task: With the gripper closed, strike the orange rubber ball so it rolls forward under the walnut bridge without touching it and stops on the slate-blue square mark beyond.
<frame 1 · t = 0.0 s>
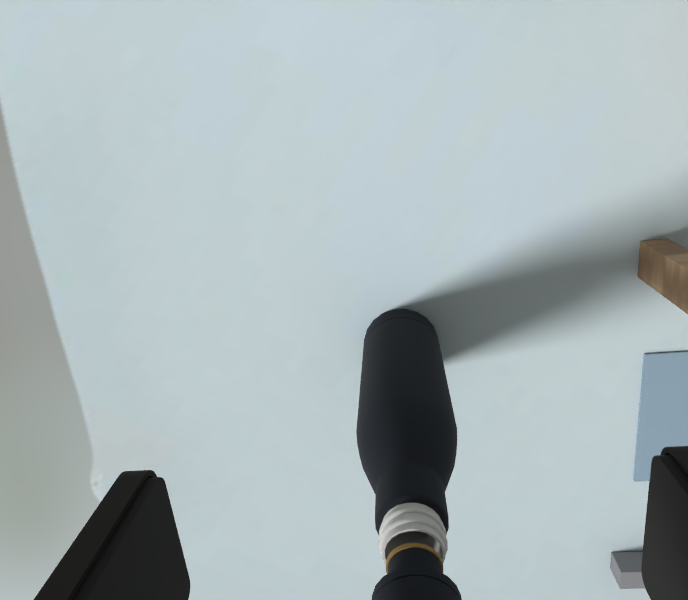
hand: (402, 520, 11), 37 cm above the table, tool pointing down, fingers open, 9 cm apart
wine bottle: (400, 341, 50), on the table
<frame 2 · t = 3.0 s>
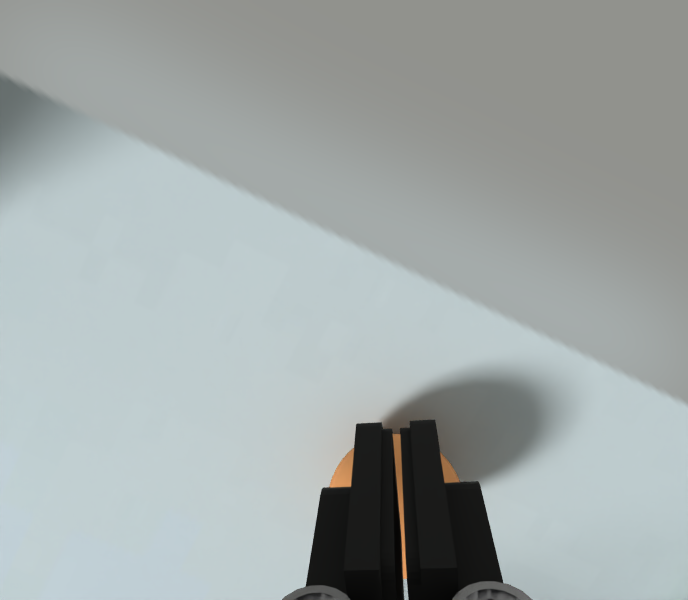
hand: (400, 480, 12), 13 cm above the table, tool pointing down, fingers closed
ball: (395, 503, 25), on the table
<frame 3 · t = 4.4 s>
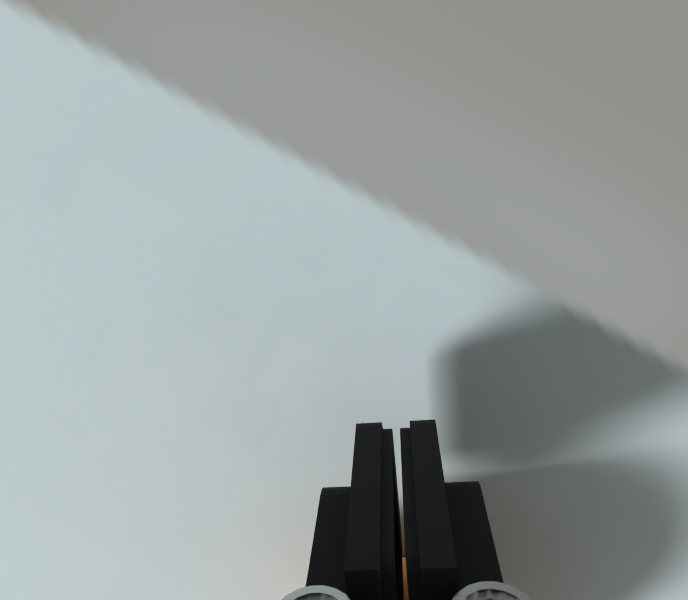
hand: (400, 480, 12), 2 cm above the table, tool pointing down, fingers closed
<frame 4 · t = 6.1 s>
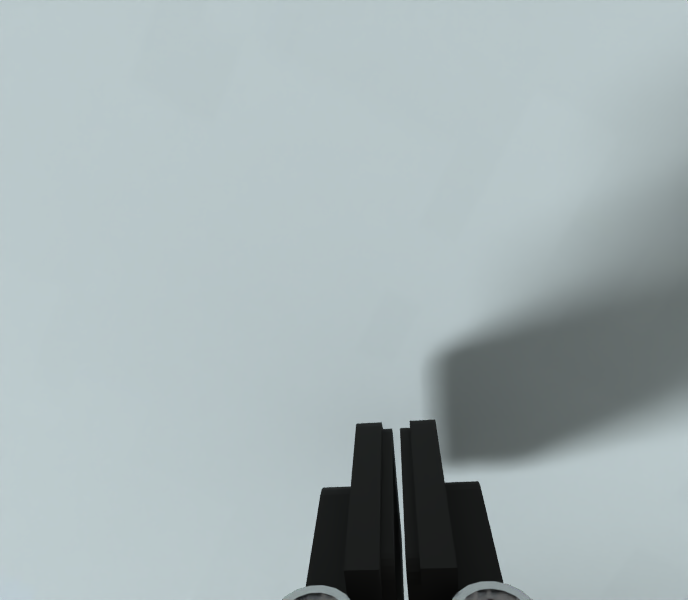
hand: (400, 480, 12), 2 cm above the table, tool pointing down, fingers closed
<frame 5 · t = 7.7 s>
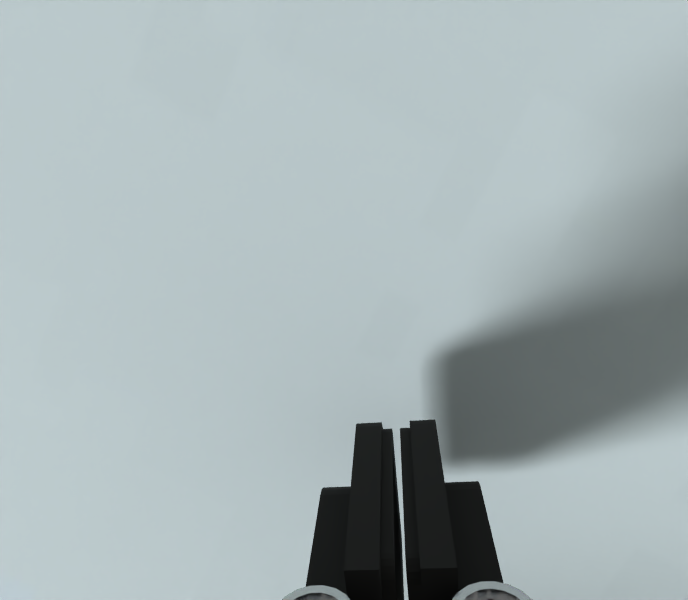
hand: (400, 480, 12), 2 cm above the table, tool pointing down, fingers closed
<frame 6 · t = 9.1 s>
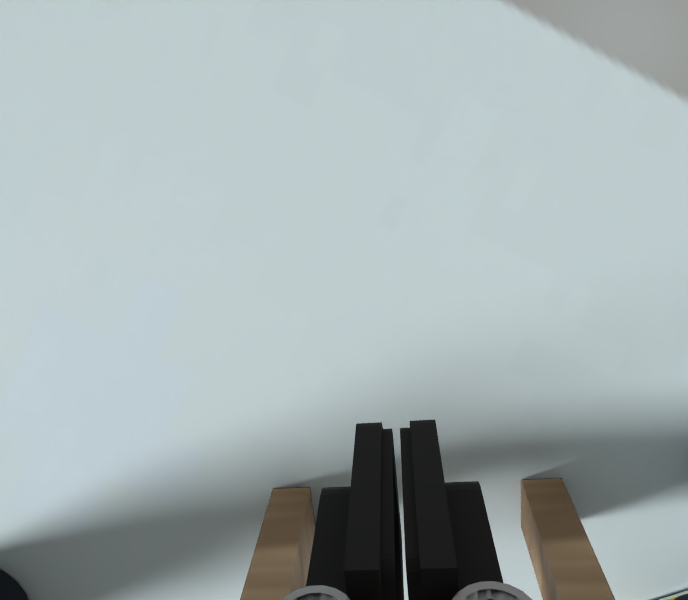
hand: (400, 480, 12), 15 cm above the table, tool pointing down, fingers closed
bridge: (415, 507, 30), on the table
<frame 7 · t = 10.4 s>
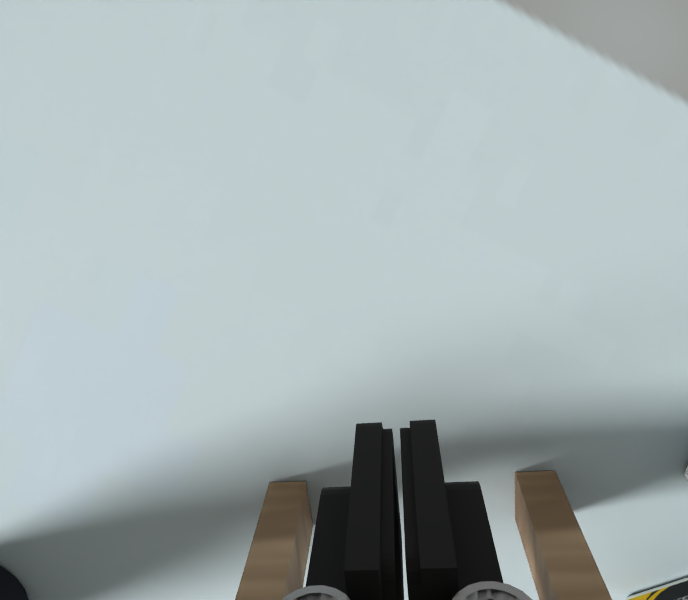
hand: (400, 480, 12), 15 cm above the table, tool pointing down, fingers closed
bridge: (410, 499, 31), on the table
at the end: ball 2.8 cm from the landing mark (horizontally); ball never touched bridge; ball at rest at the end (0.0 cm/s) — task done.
